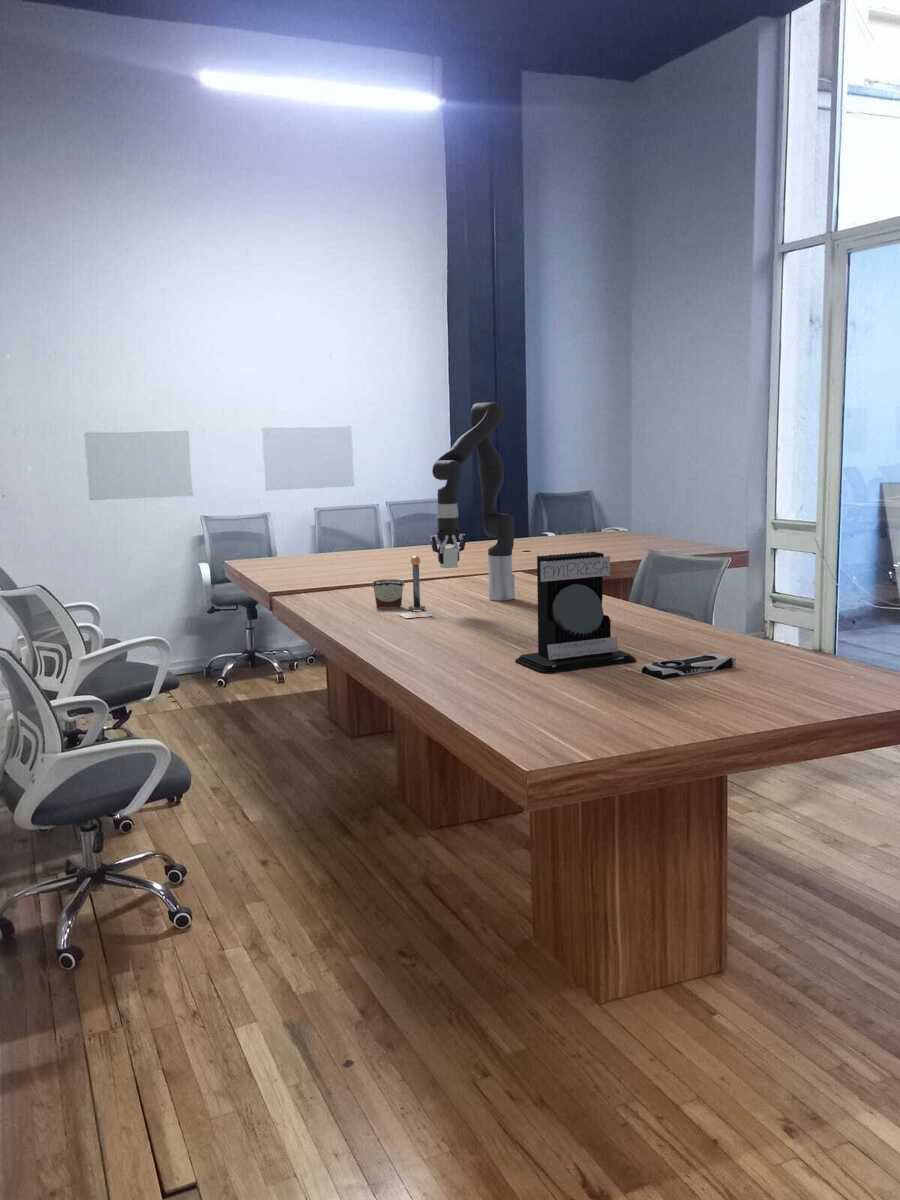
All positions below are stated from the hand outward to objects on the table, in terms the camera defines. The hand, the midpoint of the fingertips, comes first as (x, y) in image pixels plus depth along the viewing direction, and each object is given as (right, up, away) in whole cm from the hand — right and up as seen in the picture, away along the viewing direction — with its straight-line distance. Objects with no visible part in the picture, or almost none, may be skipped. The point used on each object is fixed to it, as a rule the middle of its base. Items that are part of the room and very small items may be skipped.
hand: (448, 563), depth 367 cm
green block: (0, -2, 0) cm, 1 cm away
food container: (-22, -16, +17) cm, 32 cm away
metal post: (-12, -17, +7) cm, 22 cm away
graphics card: (+64, -33, -96) cm, 120 cm away
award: (+36, -31, -83) cm, 95 cm away
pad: (-12, -19, -5) cm, 23 cm away
